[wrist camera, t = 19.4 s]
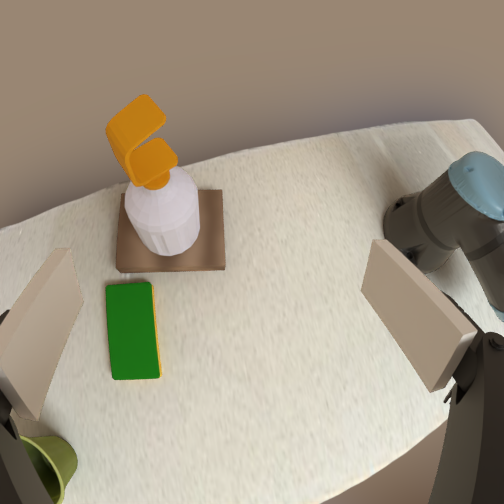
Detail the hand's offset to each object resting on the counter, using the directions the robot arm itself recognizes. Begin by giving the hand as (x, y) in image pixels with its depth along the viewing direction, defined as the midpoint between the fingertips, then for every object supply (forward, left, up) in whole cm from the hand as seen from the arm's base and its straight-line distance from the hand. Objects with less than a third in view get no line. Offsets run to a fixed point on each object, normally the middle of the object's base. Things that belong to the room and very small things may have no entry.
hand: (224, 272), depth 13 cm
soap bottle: (+6, -15, -31) cm, 35 cm away
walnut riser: (+6, -15, -34) cm, 37 cm away
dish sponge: (+12, 0, -34) cm, 36 cm away
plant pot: (+27, +21, -34) cm, 48 cm away
